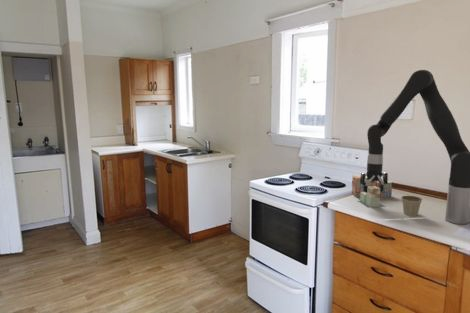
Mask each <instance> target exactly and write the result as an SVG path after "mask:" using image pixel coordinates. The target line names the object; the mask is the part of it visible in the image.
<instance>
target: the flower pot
mask: <svg viewBox="0 0 470 313" xmlns="http://www.w3.org/2000/svg"><path fill="white" fill-rule="evenodd" d="M400 198H401V201H402V209H403V214H404V215H406V216H411V217H417V216H418V215H419V211H420V206H421V203H422V202H423V198H421V197H419V196H415V195H403V196H401V197H400Z"/></svg>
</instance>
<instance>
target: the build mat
mask: <svg viewBox="0 0 470 313" xmlns="http://www.w3.org/2000/svg"><path fill="white" fill-rule="evenodd" d="M357 202H359V203H360V204H362V205H363V206H365V207H366V208H368V209H369V208H372V207H369V206H368V205H366V203H363V202H361V201H360V200H357ZM378 208H386V205H383V204H382V203H381V202H379V207H378Z"/></svg>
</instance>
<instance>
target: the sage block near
mask: <svg viewBox="0 0 470 313" xmlns="http://www.w3.org/2000/svg"><path fill="white" fill-rule="evenodd" d="M380 198H381V197H380ZM380 198H370V197H368V196H366V205H368V206H369V207H371V208H380V207H379V203H381V202H380Z"/></svg>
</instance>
